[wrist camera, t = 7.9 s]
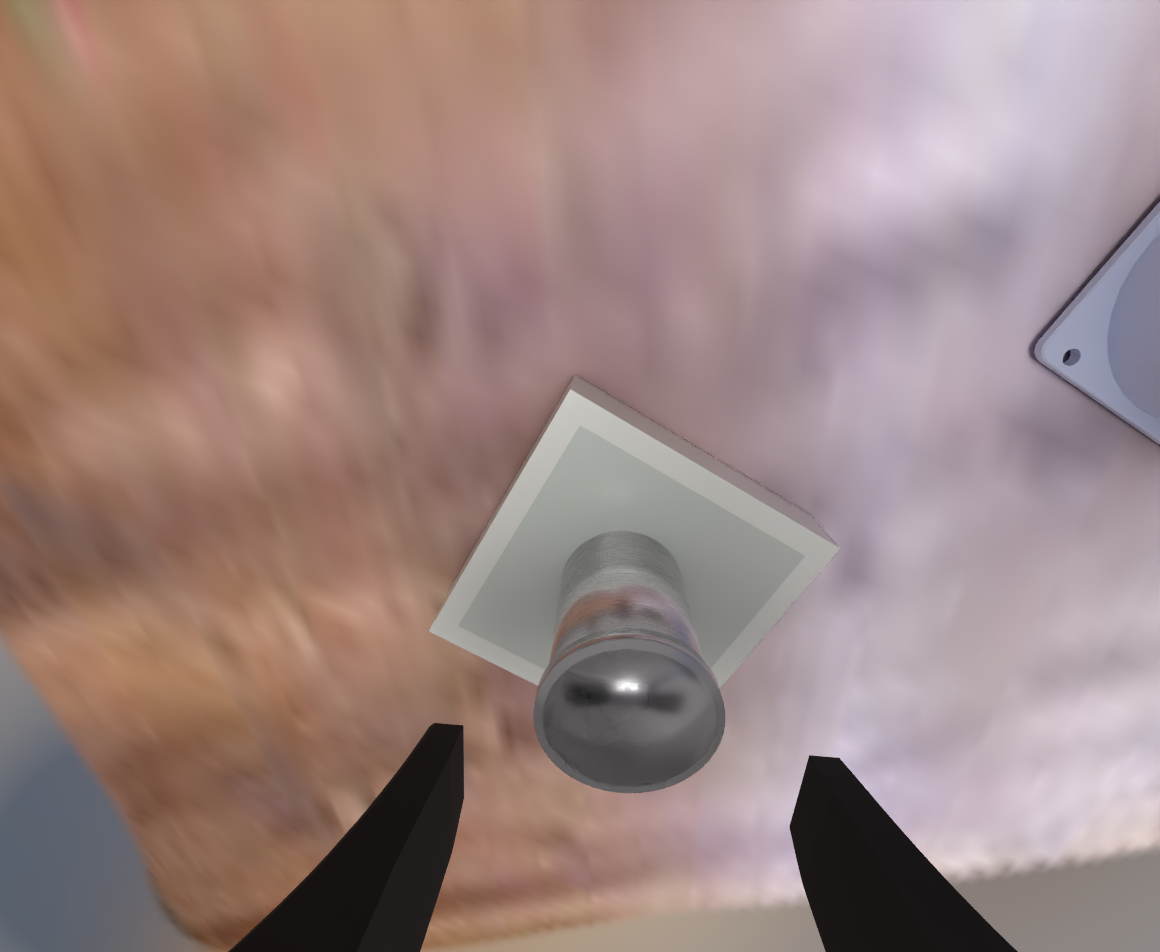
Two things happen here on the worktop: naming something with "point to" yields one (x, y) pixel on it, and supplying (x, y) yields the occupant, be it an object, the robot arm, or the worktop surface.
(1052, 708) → the worktop surface
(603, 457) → the base slab
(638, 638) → the jigger
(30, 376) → the worktop surface
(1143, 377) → the robot arm
